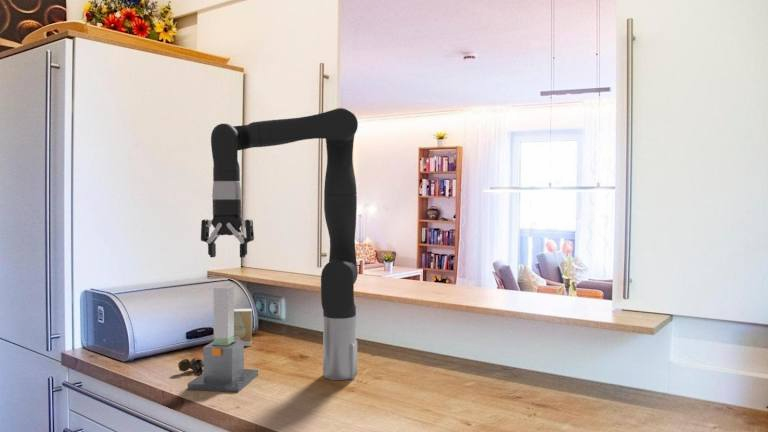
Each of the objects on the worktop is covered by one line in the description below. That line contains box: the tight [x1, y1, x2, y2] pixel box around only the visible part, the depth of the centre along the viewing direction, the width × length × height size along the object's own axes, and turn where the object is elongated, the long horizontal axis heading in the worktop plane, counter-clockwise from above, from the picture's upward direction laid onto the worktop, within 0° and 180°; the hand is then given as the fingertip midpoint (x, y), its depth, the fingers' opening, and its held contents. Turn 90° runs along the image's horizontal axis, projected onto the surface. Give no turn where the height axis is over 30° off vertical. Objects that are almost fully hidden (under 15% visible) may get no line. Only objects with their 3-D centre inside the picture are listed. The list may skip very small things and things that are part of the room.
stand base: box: [187, 340, 259, 393], centre depth 150 cm, size 14×14×10 cm
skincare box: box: [234, 308, 253, 347], centre depth 188 cm, size 6×4×12 cm
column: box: [213, 285, 235, 347], centre depth 150 cm, size 4×4×18 cm
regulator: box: [177, 357, 204, 377], centre depth 159 cm, size 8×4×15 cm
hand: (227, 257), depth 150 cm, fingers open, 8 cm apart
